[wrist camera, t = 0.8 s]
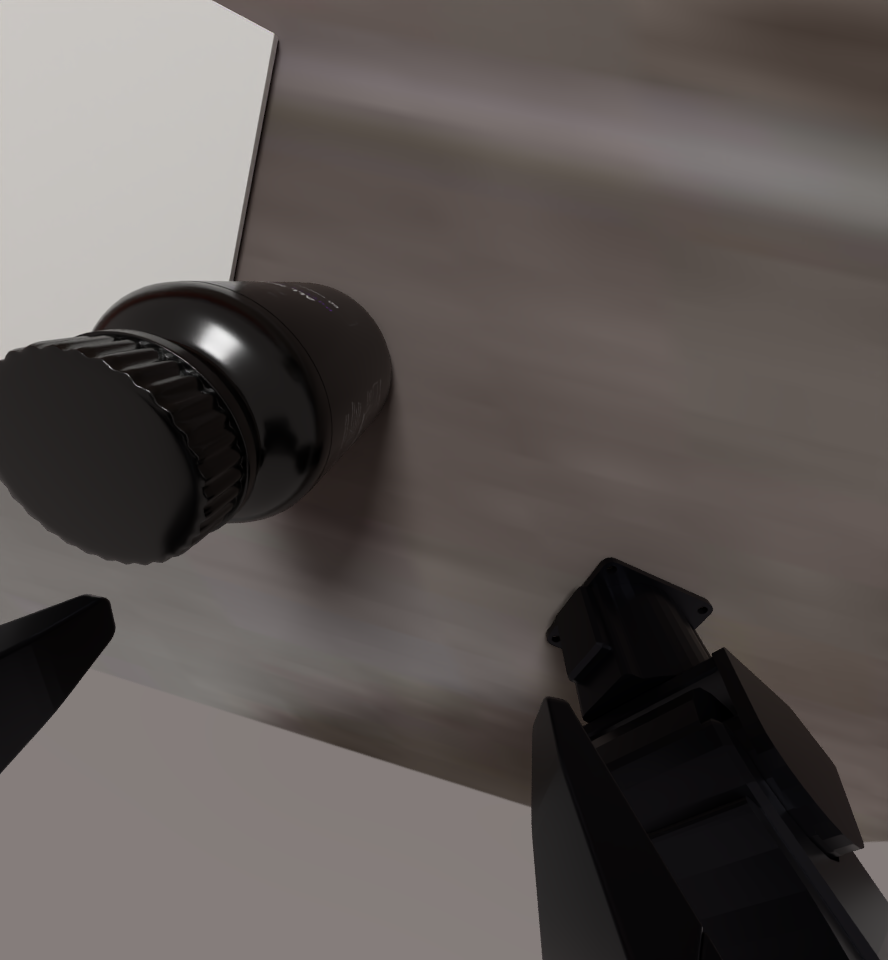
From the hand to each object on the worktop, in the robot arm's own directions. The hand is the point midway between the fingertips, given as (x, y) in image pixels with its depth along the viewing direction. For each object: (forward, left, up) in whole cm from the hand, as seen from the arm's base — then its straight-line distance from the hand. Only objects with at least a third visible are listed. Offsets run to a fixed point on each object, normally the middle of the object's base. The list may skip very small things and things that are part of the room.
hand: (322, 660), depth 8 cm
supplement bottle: (+6, -1, -13) cm, 14 cm away
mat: (+17, -1, -13) cm, 21 cm away
